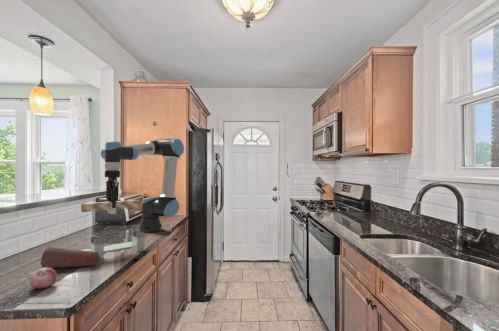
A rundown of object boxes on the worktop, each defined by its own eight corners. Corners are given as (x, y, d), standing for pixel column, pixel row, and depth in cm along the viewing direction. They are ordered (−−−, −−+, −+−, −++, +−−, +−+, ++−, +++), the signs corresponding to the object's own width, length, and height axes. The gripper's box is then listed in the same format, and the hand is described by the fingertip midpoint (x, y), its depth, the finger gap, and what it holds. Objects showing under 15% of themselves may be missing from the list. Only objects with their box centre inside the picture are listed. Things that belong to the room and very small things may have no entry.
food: (39, 272, 116) (40, 250, 116) (49, 264, 125) (50, 244, 125) (96, 267, 121) (96, 247, 121) (101, 261, 130) (102, 241, 130)
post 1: (99, 254, 139) (99, 235, 139) (103, 258, 134) (103, 238, 134) (90, 256, 136) (90, 237, 136) (94, 260, 131) (94, 239, 131)
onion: (28, 293, 96) (29, 272, 96) (29, 286, 102) (30, 266, 102) (56, 288, 100) (57, 268, 100) (56, 281, 107) (56, 262, 107)
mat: (137, 241, 165) (137, 240, 165) (144, 245, 158) (144, 244, 158) (74, 252, 143) (74, 251, 143) (79, 256, 136) (79, 255, 136)
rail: (136, 206, 162) (136, 199, 162) (139, 207, 159) (139, 200, 159) (81, 211, 142) (81, 203, 142) (83, 212, 139) (83, 204, 140)
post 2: (139, 247, 153) (139, 230, 153) (144, 250, 148) (144, 232, 148) (131, 248, 150) (132, 231, 150) (137, 251, 145) (137, 233, 145)
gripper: (100, 169, 155) (99, 212, 154) (110, 170, 142) (109, 216, 142) (114, 170, 160) (113, 210, 159) (125, 170, 147) (124, 214, 147)
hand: (111, 213), depth 151 cm, fingers closed on rail, 4 cm apart
